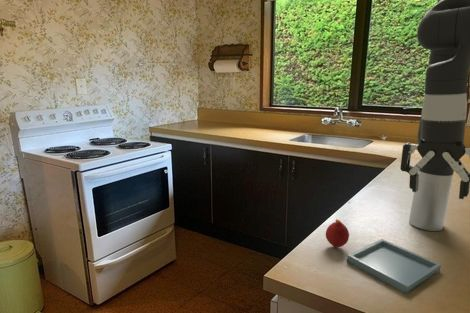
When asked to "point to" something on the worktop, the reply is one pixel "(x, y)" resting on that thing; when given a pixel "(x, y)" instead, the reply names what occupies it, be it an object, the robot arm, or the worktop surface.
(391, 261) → the dish
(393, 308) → the worktop surface
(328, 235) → the onion
